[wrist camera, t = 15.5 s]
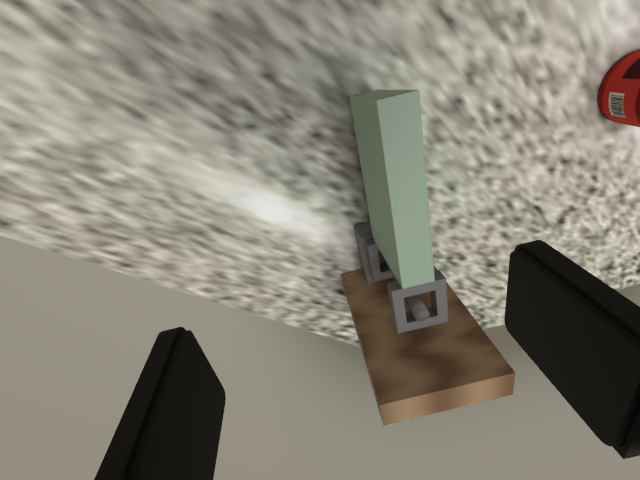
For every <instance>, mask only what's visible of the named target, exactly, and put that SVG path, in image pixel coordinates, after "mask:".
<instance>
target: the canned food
mask: <svg viewBox="0 0 640 480" xmlns="http://www.w3.org/2000/svg"><path fill="white" fill-rule="evenodd" d="M599 106H600V110H601V112H602V113H603V114H604V115H605V116H606V117H607V118H608V119H610V120H612V121H614V122H616V123H621V124H627V125H632V126H637V127H640V50H639V51H636V52H633V53H631V54H629V55H627V56H625V57H624V58H622V59H621V60H620V61H619V62H617V63H616V64H615V65H614V66H613V67H612V69H611V70H610V71H609V72H608V74H607V76H606V77H605V79H604V81H603V83H602V85H601V89H600V92H599Z"/></svg>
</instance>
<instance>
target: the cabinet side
mask: <svg viewBox="0 0 640 480" xmlns="http://www.w3.org/2000/svg"><path fill="white" fill-rule="evenodd" d="M354 228H355V234H356V239H357V244H358V250H359V255H360V261H361V266H362V269H360V270H356V271H352V272H348V273H344V274H341V276H342V280H343V285H344V289H345V293H346V297H347V300H348V304H349V307H350V311H351V314H352V318H353V321H354V324H355V328H356V331H357V335H358V338H359V342H360V345H361V349H362V352H363V356H364V359H365V363H366V366H367V369H368V373H369V377H370V380H371V384H372V387H373V390H374V394H375V398H376V401H377V405H378V408H379V412H380V415H381V418H382V422H383V425H387V424H391V423H395V422H399V421H403V420H408V419H411V418H416V417H420V416H424V415H429V414H433V413H437V412H441V411H445V410H450V409H453V408H458V407H462V406H466V405H470V404H474V403H478V402H483V401H487V400H491V399H496V398H500V397H504V396H508V395H512V394H513V387H514V377H515V372H514V371H513V369H512V368H511V367H510V365H509V364H508V363H507V361H506V360H505V359H504V358H503V356H502V355H501V353H500V352H499V351H498V350H497V348H496V347H495V346H494V344H493V343H492V342H491V340H490V339H489V338H488V336H487V335H486V334H485V332H484V331H483V330H482V328H481V327H480V326H479V324H478V323H477V322H476V320H475V319H474V318H473V317H472V315H471V314H470V313H469V311H468V310H467V309H466V307H465V306H464V305H463V303H462V302H461V301H460V299H459V298H458V297H457V295H456V294H455V293H454V291H453V290H452V289H451V287H450V286H449V285H448V284H447V282H446V290H447V305H448V320H449V321H448V322H444V323H440V324H436V325H432V326H428V327H423V328H419V329H415V330H411V331H407V332H403V333H399V334H398V332H397V330H396V328H395V326H394V324H393V318H392V311H391V305H390V299H389V293H388V286H387V283H388V282H392V281H396V280H397V279H396V277H395V275H394V274H393V272H392V270H391V269H390V267H389V265H388V263H387V262H386V260H385V258H384V257H383V255H382V253H381V251H377V252H378V258H379V264H380V266H383V265H387V266H388V268H389V270H390V272H391V274H392V276H393V277H391V278H387V279H382V280H378V281H374V280H373V278H372V276H371V271H370V266H369V260H368V255H367V249H366V244H365V240H369V239H373V236H372V230H371V224H370V222H366V223H362V224H358V225H354ZM434 271H437V269H436V268H435V266H434ZM404 304H405V312H410V311H412V313H413V315H414V317H415V319H416V320H417V321H425V320H426V319H428V317H429V315H430V313H429V311H428V310H427V307H431V296H430V292H426V293H421V294H417V295H413V296H409V297H405V298H404Z"/></svg>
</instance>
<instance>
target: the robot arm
mask: <svg viewBox="0 0 640 480" xmlns="http://www.w3.org/2000/svg"><path fill="white" fill-rule="evenodd" d="M505 325H506V328H507V330H508V332H509V333H510V334H511V336H512V337H513V338H514V339H515V340H516V341H517V343H518V344H519V345H520V346H521V347H522V349H523V350H524V351H525V352H526V353H527V354H528V356H529V357H530V358H531V359H532V360H533V361H534V363H535V364H536V365H537V366H538V367H539V369H540V370H541V371H542V372H543V373H544V374H545V376H546V377H547V378H548V379H549V380H550V381H551V383H552V384H553V385H554V386H555V387H556V389H557V390H558V391H559V392H560V393H561V394H562V396H563V397H564V398H565V399H566V400H567V402H568V403H569V404H570V405H571V406H572V407H573V409H574V410H575V411H576V412H577V413H578V414H579V416H580V417H581V418H582V419H583V420H584V421H585V423H586V424H587V425H588V426H589V427H590V429H591V430H592V431H593V432H594V433H595V435H596V436H597V437H598V438H599V439H600V440H601V441H602V442H603V443H604V444H606V445H608V446H613V448H614V449H615V450H616V451H617V452H618V453H619V455H620V456H621V457H622V458H623V459H625V458H630V457H634V456H639V455H640V307H639V306H637V305H636V304H634V303H633V302H631V301H630V300H629V299H627V298H626V297H624V296H623V295H621V294H620V293H618V292H617V291H615V290H614V289H612V288H611V287H610V286H608V285H607V284H605V283H604V282H602V281H601V280H599V279H598V278H596V277H595V276H593V275H592V274H590V273H589V272H588V271H586V270H585V269H583V268H582V267H580V266H579V265H577V264H576V263H574V262H573V261H571V260H570V259H568V258H567V257H566V256H564V255H563V254H561V253H560V252H558V251H557V250H555V249H554V248H552V247H551V246H549V245H548V244H546V243H545V242H543V241H541V240H536V241H532V242H528V243H524V244H520V245H518V246H516V248H515V251H513V252H512V253H511V254H510V263H509V274H508V286H507V298H506V309H505ZM224 406H225V391H224V389H223V386H222V385H221V383H220V381H219V379H218V377H217V376H216V374H215V372H214V370H213V369H212V367H211V365H210V363H209V361H208V360H207V358H206V356H205V354H204V353H203V351H202V349H201V347H200V346H199V344H198V342H197V340H196V338H195V337H194V335H193V333H192V332H191V331H190V330H188V331H186V330H185V329H184V328H183V327H178V328H174V329H170V330H166V331H162V332H160V333H159V335H158V336H157V339H156V341H155V343H154V346H153V348H152V350H151V353H150V355H149V357H148V359H147V361H146V364H145V366H144V368H143V370H142V373H141V375H140V377H139V380H138V382H137V384H136V386H135V389H134V391H133V393H132V395H131V398H130V400H129V402H128V405H127V407H126V409H125V411H124V414H123V416H122V418H121V421H120V423H119V425H118V427H117V430H116V432H115V434H114V436H113V438H112V441H111V443H110V446H109V448H108V450H107V452H106V454H105V457H104V459H103V461H102V463H101V466H100V468H99V470H98V472H97V475H96V477H95V479H94V480H213V477H214V470H215V464H216V458H217V451H218V444H219V439H220V432H221V426H222V420H223V413H224Z"/></svg>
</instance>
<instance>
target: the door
mask: <svg viewBox="0 0 640 480" xmlns="http://www.w3.org/2000/svg"><path fill="white" fill-rule="evenodd" d="M349 100H350V106H351V112H352V118H353V124H354V130H355V135H356V141H357V147H358V153H359V159H360V165H361V171H362V177H363V183H364V188H365V194H366V200H367V206H368V212H369V218H370V224H371V230H372V236H373V239H369V240H365V244H366V249H367V255H368V260H369V266H370V271H371V276H372V278H373V280H374V281H378V280H382V279H387V278H391V277H393V276H392V274H391V272H390V270H389V268H388V266H387V265H383V266H380V264H379V258H378V252H377V251H381V253H382V255H383V257H384V258H385V260H386V262H387V263H388V265H389V267H390V269H391V270H392V272H393V274H394V275H395V277H396V279H397V280H396V281H392V282H388V283H387V286H388V293H389V299H390V305H391V311H392V318H393V324H394V326H395V328H396V330H397V332H398V334H399V333H403V332H407V331H411V330H415V329H419V328H423V327H428V326H432V325H436V324H440V323H444V322H448V321H449V320H448V305H447V290H446V278H445V277H444V276H443V275H442V273H441V272H440V271H439V270H437V271H434V265H433V253H432V241H431V229H430V217H429V205H428V193H427V181H426V170H425V158H424V146H423V134H422V122H421V110H420V98H419V90H376V91H372V92H368V93H364V94H359V95H355V96H351V97H349ZM426 292H430V296H431V307H427V310H428V311H429V313H430V315H429V317H428V319H426V320H425V321H417V320H416V319H415V317H414V315H413V313H412V311H410V312H405V304H404V298H405V297H409V296H413V295H417V294H421V293H426Z"/></svg>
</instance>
